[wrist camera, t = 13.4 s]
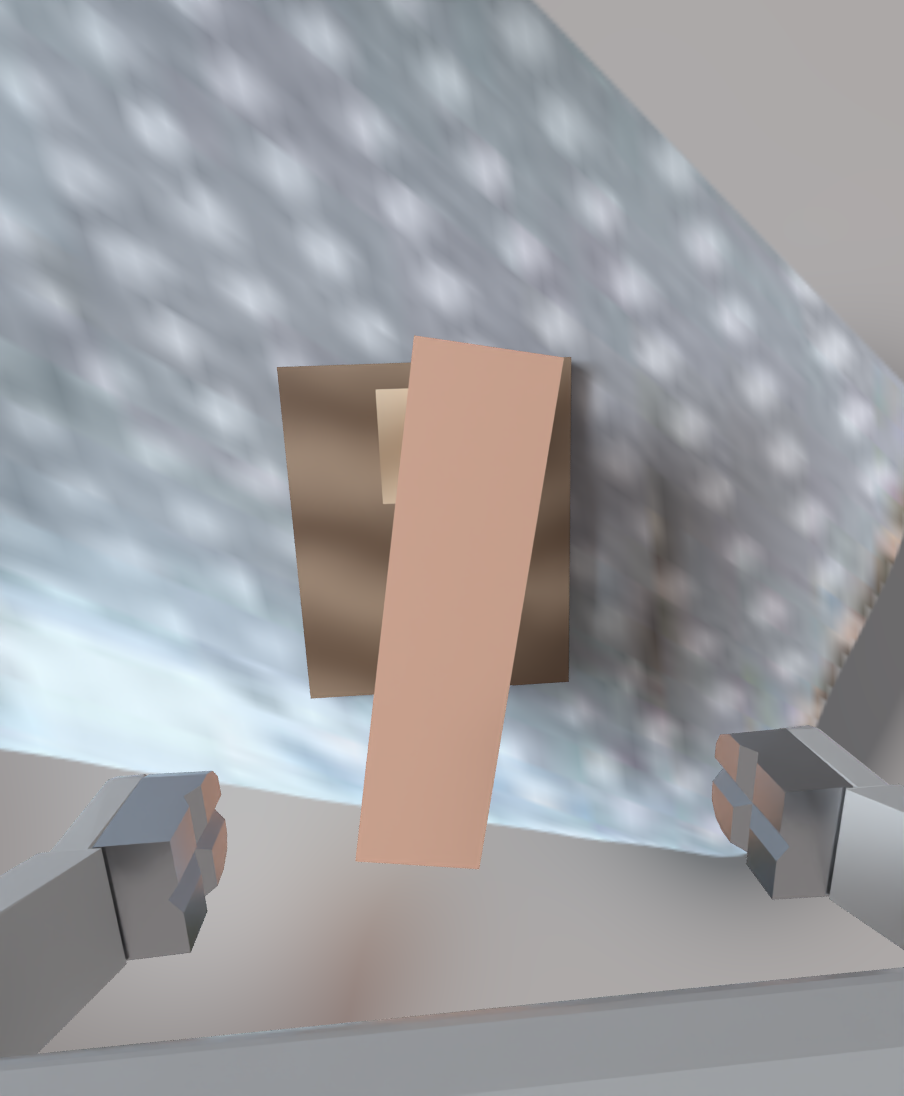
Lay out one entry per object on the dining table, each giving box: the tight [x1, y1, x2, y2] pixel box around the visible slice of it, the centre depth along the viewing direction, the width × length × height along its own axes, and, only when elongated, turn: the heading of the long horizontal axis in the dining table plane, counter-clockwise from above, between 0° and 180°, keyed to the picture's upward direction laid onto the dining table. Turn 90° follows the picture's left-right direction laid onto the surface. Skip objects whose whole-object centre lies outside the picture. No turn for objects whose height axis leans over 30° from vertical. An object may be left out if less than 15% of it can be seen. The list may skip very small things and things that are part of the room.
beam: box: [356, 336, 564, 869], centre depth 19 cm, size 16×4×5 cm, turn 172°
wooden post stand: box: [277, 357, 571, 698], centre depth 26 cm, size 17×14×10 cm
